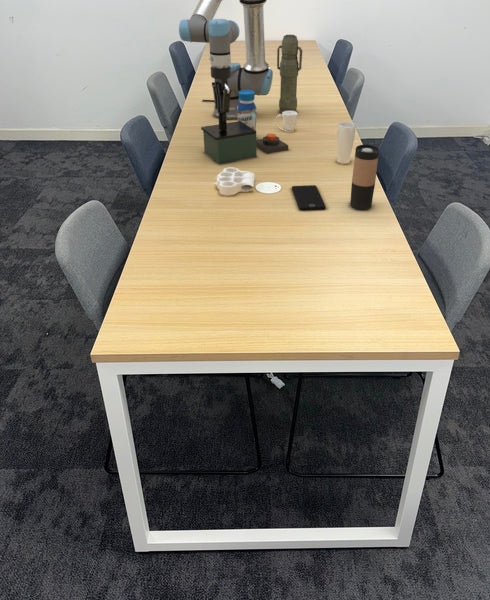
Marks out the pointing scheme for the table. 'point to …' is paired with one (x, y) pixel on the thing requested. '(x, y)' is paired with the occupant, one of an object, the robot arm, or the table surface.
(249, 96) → the beverage bottle
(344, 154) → the drinking glass
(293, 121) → the cup
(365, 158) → the travel mug
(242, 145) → the green box
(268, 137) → the button
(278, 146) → the control pad
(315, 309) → the table surface
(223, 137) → the box lid
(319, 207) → the cell phone
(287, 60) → the thermos
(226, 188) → the white holed block
